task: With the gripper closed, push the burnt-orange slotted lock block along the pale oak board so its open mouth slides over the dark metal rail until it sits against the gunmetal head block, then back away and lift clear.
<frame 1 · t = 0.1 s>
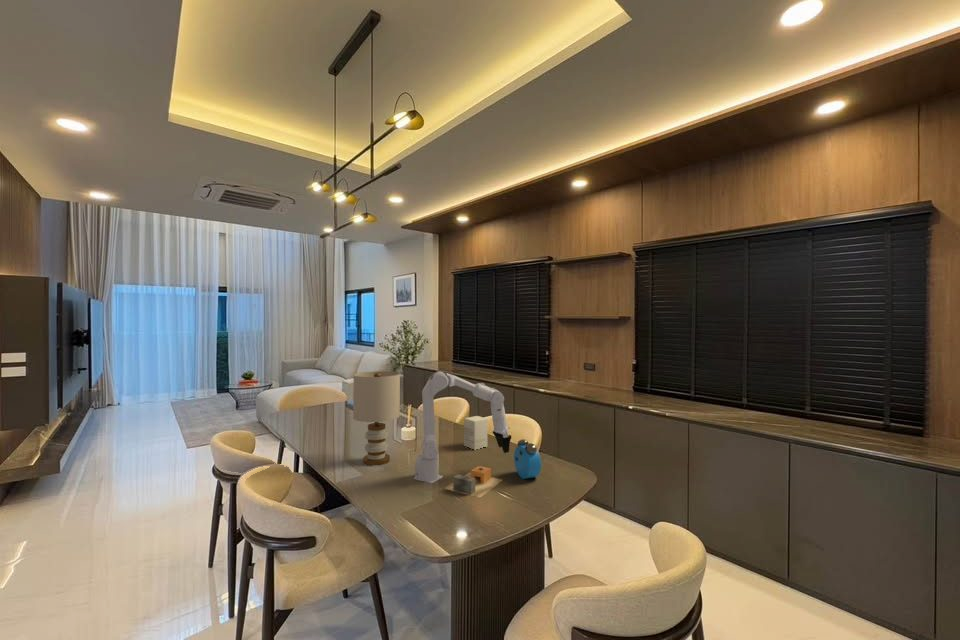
hand: (503, 449, 168), 10 cm above the table, tool pointing down, fingers open, 7 cm apart
lamp: (376, 461, 182), on the table
alarm clock: (526, 477, 164), on the table
dock: (474, 485, 156), on the table
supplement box: (475, 447, 204), on the table
lock: (481, 479, 161), resting on dock
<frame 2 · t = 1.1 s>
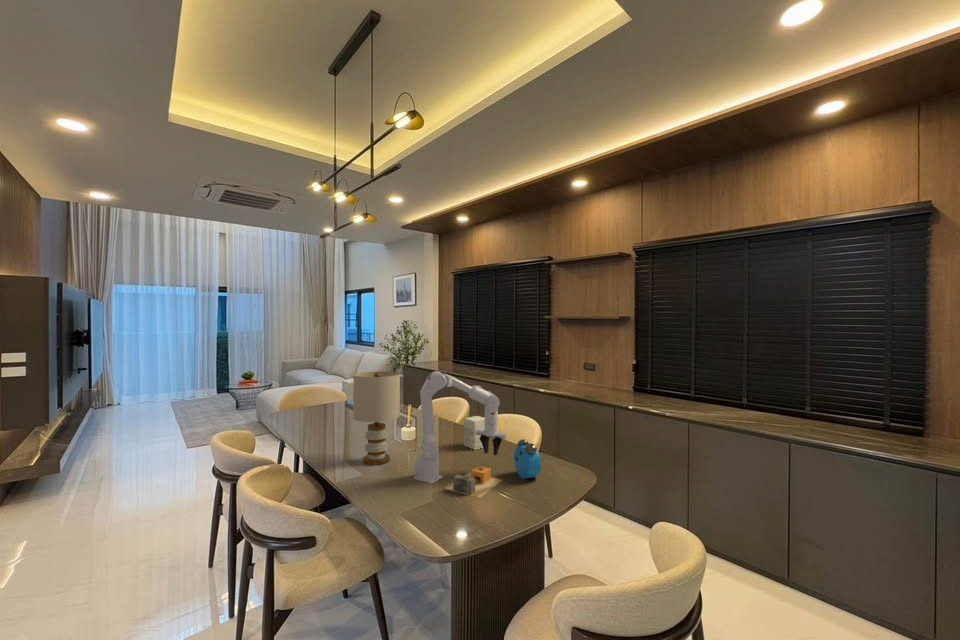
hand: (490, 453, 168), 8 cm above the table, tool pointing down, fingers open, 4 cm apart
nothing on the table moved.
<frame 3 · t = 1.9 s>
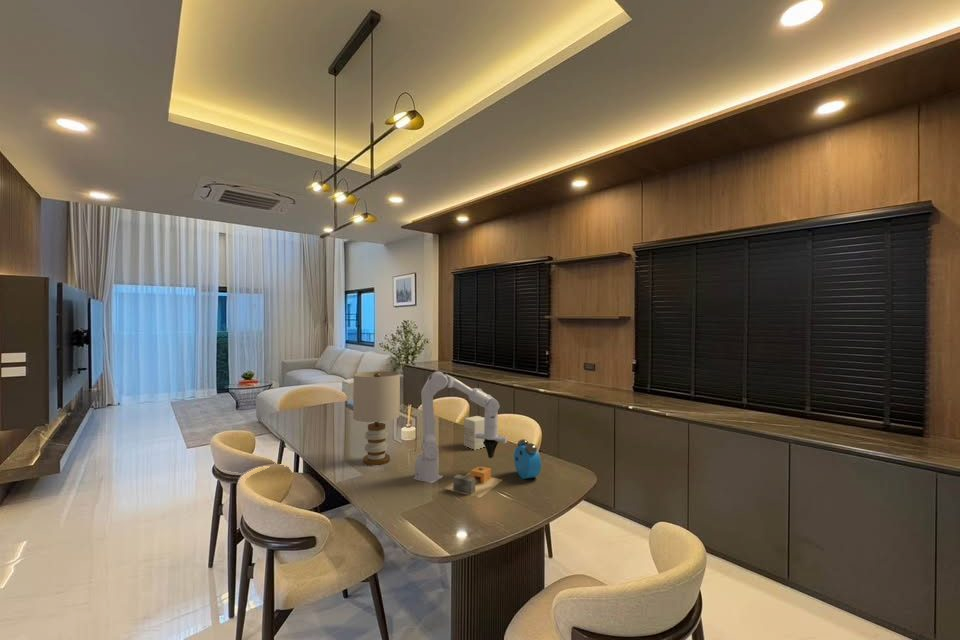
hand: (490, 457, 168), 7 cm above the table, tool pointing down, fingers closed
nothing on the table moved.
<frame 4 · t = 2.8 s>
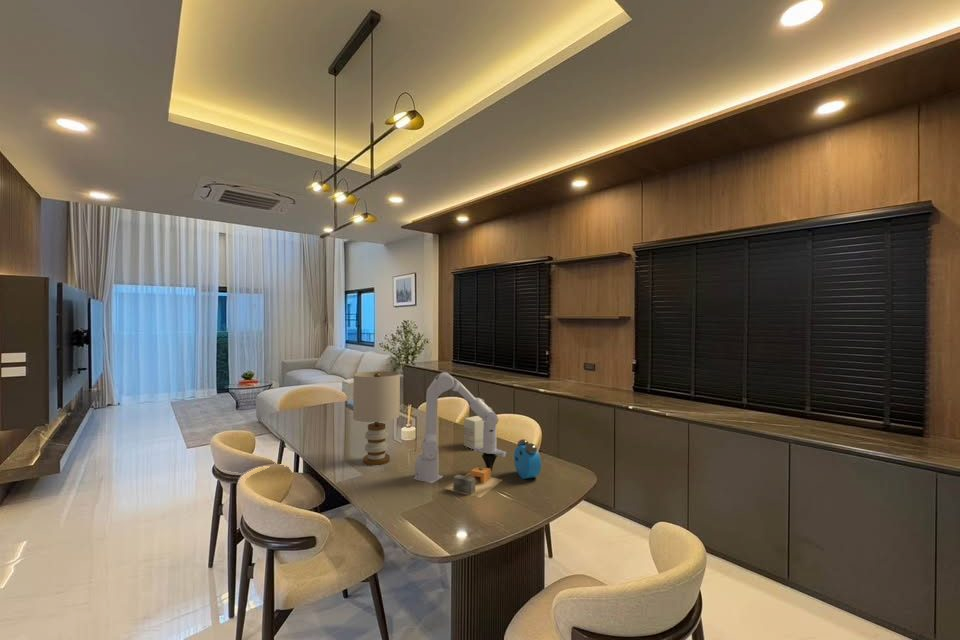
hand: (489, 471, 167), 1 cm above the table, tool pointing down, fingers closed
nothing on the table moved.
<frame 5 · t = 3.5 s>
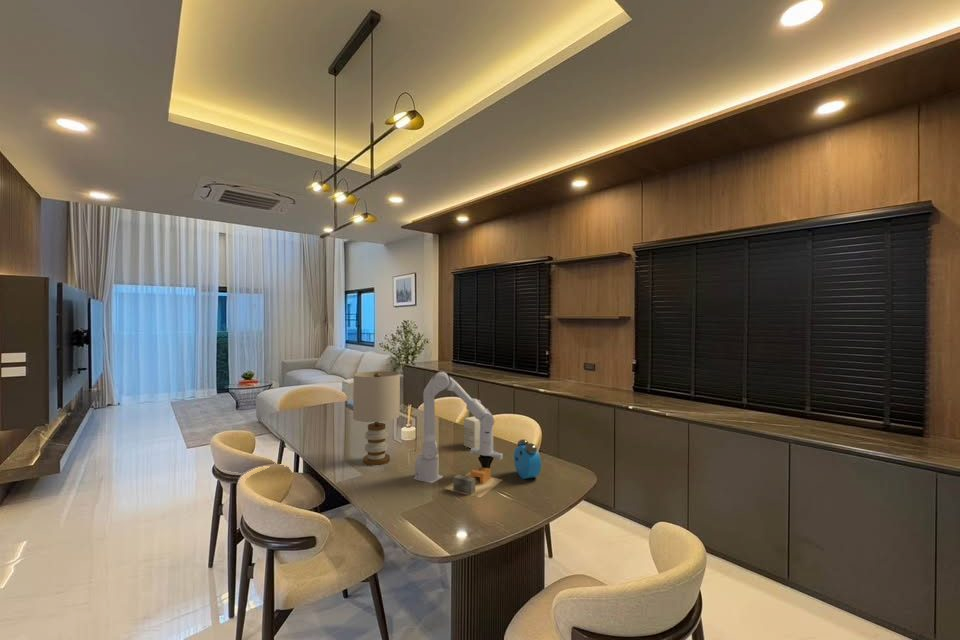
hand: (486, 473, 164), 1 cm above the table, tool pointing down, fingers closed, pressing on lock
lock: (480, 479, 160), resting on dock, touching gripper
everything else where it was.
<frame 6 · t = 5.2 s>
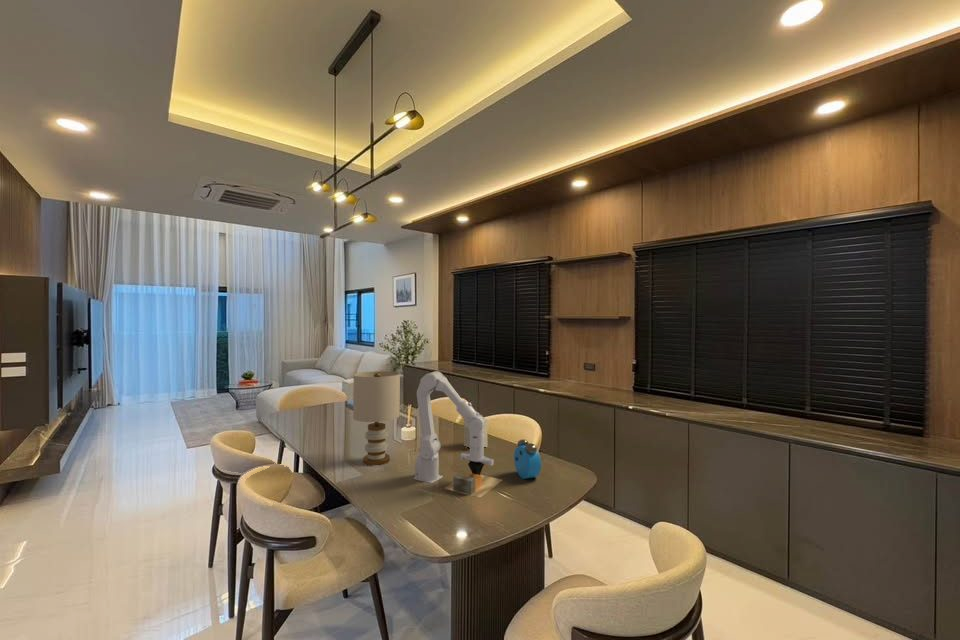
hand: (476, 480, 157), 1 cm above the table, tool pointing down, fingers closed, pressing on lock
lock: (471, 486, 153), resting on dock, touching gripper
everything else where it was.
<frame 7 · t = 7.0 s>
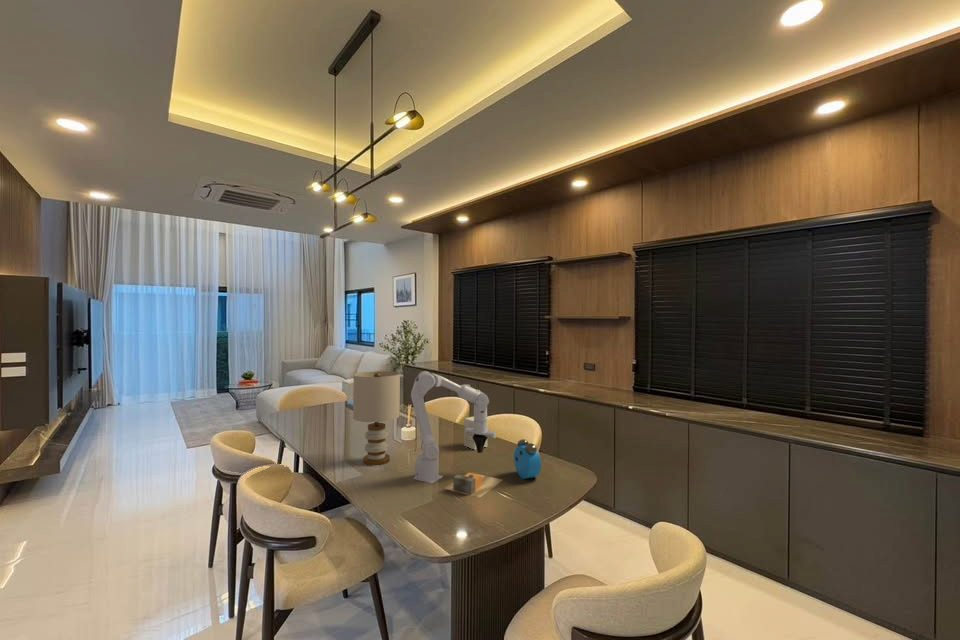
hand: (480, 452, 168), 9 cm above the table, tool pointing down, fingers closed
lock: (471, 487, 153), resting on dock
everything else where it was.
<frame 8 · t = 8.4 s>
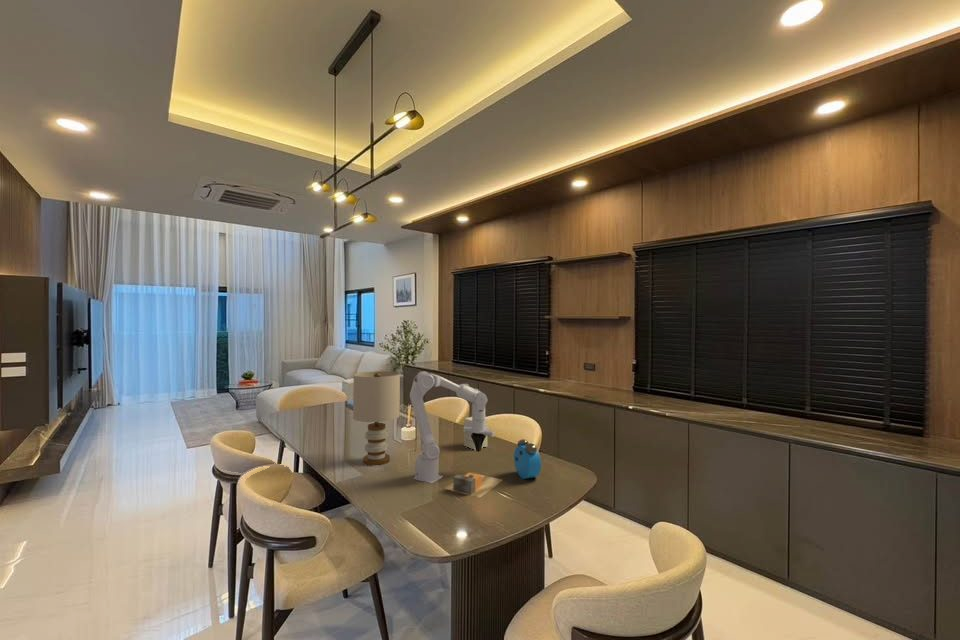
hand: (478, 450, 169), 9 cm above the table, tool pointing down, fingers closed
nothing on the table moved.
at the end: lock 0.7 cm from the target spot on the dock, point 0.4 cm above the dock's base; lock tilted 0°; lock moved 8.5 cm from its start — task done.
